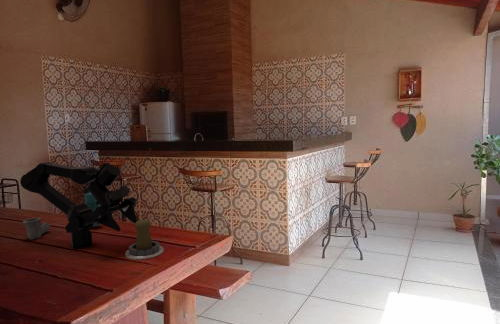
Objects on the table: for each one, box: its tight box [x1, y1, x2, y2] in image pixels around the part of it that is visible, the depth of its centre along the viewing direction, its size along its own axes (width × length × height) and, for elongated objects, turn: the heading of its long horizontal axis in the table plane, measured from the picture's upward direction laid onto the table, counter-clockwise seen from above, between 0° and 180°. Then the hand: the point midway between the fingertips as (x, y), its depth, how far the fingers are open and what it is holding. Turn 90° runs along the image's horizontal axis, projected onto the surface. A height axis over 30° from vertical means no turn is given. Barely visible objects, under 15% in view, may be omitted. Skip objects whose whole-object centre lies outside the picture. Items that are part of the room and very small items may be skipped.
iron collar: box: [124, 240, 165, 261], centre depth 132 cm, size 13×13×3 cm
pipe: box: [22, 217, 51, 241], centre depth 156 cm, size 6×13×8 cm, turn 176°
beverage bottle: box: [83, 182, 102, 227], centre depth 165 cm, size 6×7×20 cm
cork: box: [134, 219, 153, 249], centre depth 131 cm, size 6×6×11 cm
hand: (128, 226), depth 134 cm, fingers open, 9 cm apart
